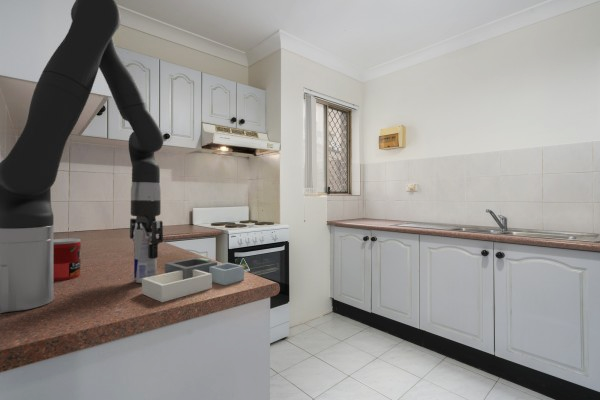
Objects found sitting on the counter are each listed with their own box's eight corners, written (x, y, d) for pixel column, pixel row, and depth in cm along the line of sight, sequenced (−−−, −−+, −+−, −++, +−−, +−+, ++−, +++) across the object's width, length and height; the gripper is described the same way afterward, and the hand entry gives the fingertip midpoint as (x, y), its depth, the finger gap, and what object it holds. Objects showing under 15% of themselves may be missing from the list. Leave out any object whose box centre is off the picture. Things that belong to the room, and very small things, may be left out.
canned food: (76, 279, 86) (76, 241, 86) (41, 282, 83) (41, 242, 83) (84, 273, 93) (84, 237, 93) (52, 275, 90) (52, 238, 90)
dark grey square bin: (185, 285, 81) (185, 267, 81) (164, 278, 88) (164, 262, 88) (217, 277, 90) (217, 261, 90) (196, 271, 96) (196, 256, 96)
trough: (162, 302, 68) (162, 285, 68) (141, 293, 74) (142, 278, 74) (211, 288, 79) (212, 273, 79) (190, 281, 85) (190, 268, 85)
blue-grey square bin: (224, 285, 82) (224, 270, 82) (209, 280, 86) (209, 266, 86) (244, 279, 87) (244, 266, 87) (228, 275, 92) (228, 262, 92)
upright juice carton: (160, 278, 88) (160, 227, 87) (148, 284, 82) (149, 229, 82) (142, 278, 88) (142, 227, 88) (129, 283, 82) (129, 229, 82)
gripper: (120, 198, 86) (120, 255, 86) (144, 199, 77) (144, 262, 78) (146, 198, 92) (146, 251, 92) (172, 199, 83) (171, 257, 84)
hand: (145, 256), depth 85 cm, fingers open, 8 cm apart
